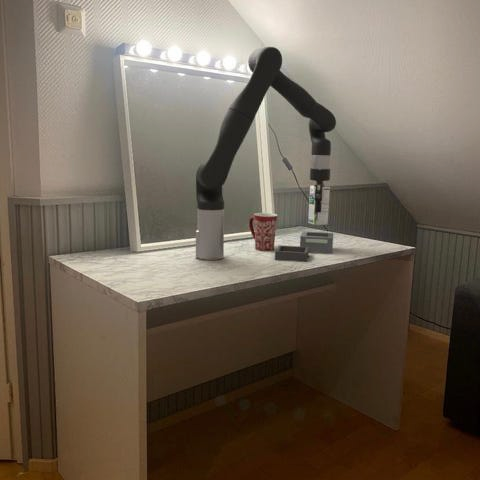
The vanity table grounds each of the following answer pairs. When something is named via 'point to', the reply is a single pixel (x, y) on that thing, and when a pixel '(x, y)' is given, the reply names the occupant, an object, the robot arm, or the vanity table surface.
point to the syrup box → (322, 216)
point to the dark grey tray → (292, 253)
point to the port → (317, 242)
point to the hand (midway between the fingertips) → (318, 210)
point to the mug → (264, 230)
